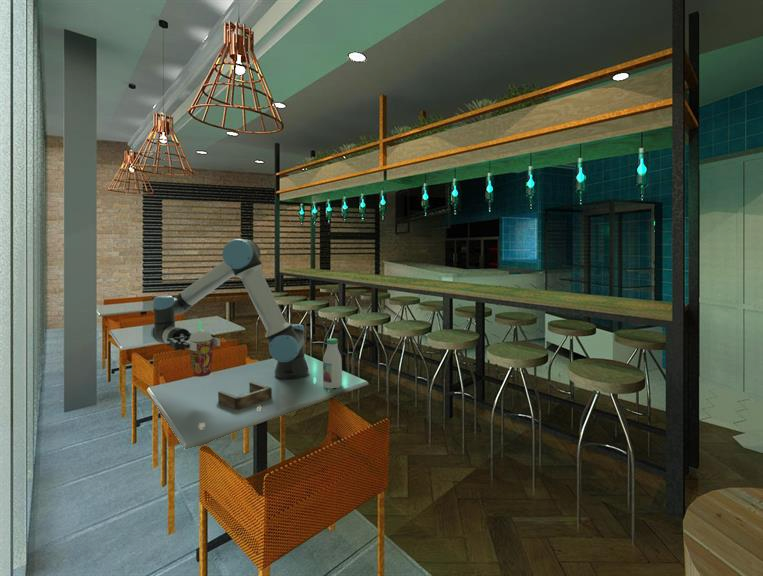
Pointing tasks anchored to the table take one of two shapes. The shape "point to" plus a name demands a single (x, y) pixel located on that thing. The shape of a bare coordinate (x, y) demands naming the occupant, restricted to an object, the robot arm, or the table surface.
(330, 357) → the milk bottle
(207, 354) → the smoothie
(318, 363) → the table surface
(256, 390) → the holder
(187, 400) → the table surface
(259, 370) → the table surface
